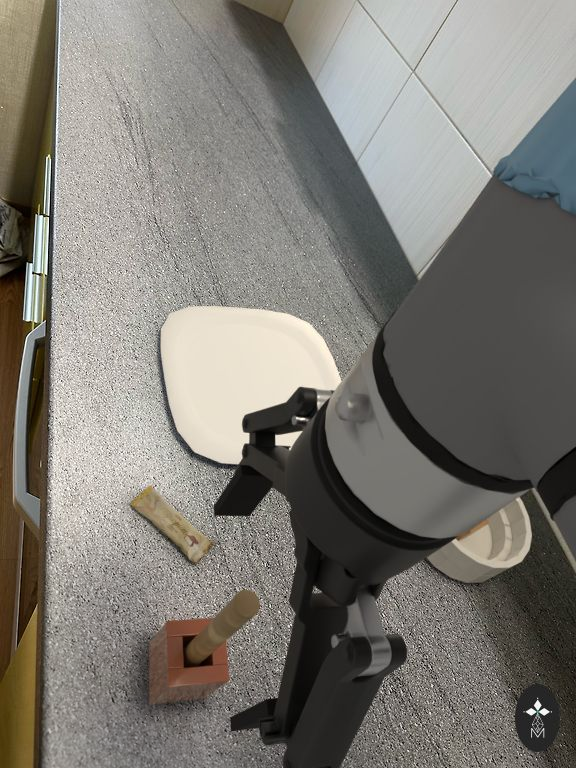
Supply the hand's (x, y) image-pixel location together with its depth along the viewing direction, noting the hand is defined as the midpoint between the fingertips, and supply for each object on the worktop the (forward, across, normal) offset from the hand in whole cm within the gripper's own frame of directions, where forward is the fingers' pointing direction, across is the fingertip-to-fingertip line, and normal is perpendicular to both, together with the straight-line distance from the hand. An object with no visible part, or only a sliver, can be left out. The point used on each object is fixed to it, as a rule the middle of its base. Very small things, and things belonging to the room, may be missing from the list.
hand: (240, 606), depth 39 cm
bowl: (+20, -14, +37) cm, 44 cm away
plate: (+20, -34, +12) cm, 41 cm away
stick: (+20, 0, 0) cm, 20 cm away
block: (+19, -14, +37) cm, 44 cm away
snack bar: (+20, -14, 0) cm, 24 cm away
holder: (+20, 0, 0) cm, 20 cm away
